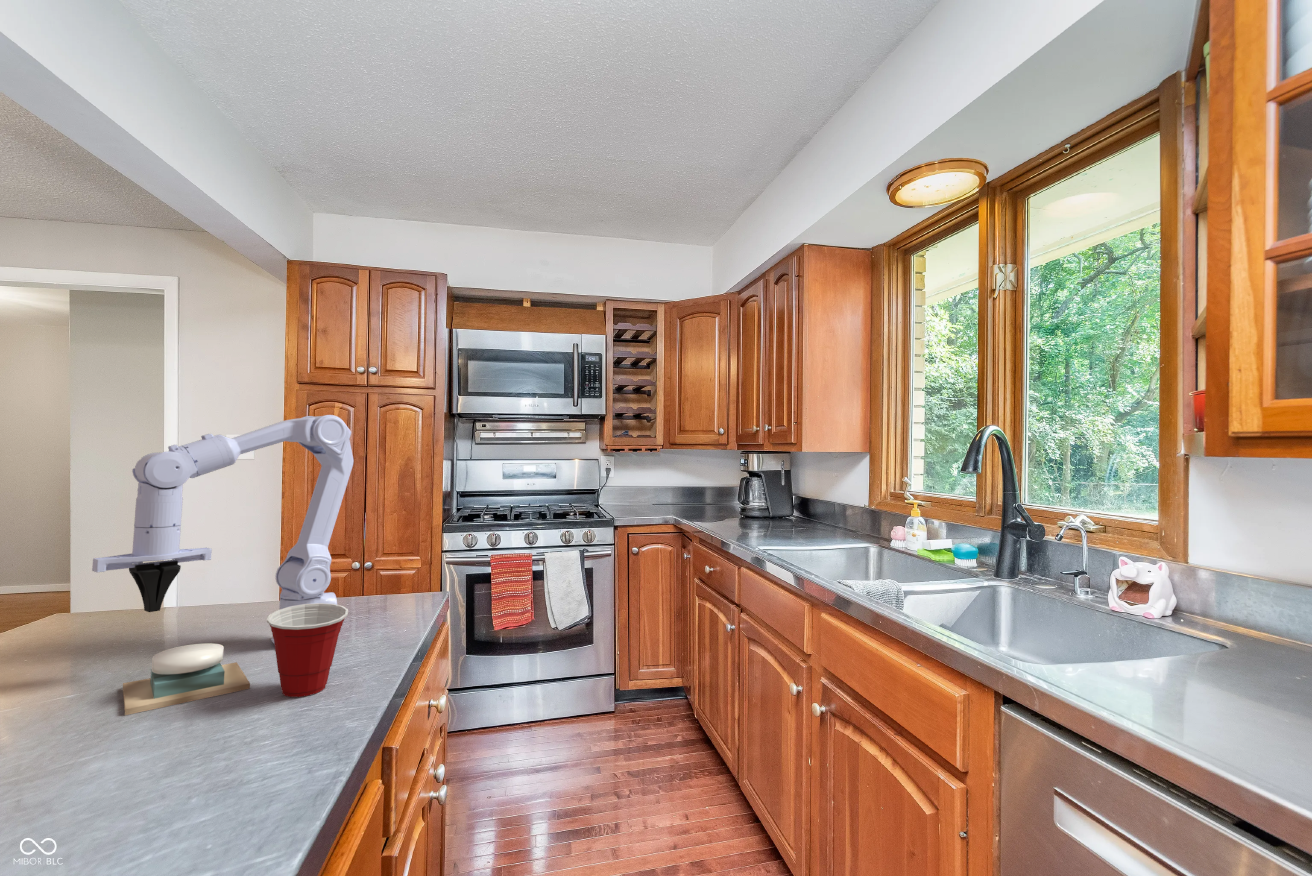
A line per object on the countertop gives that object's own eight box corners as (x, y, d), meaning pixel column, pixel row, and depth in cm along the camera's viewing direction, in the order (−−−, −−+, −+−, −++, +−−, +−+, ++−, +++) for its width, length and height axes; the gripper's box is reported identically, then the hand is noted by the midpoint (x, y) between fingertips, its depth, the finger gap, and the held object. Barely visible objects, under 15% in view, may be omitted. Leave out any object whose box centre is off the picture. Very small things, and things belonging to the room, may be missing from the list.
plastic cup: (264, 712, 79) (269, 625, 79) (259, 686, 87) (264, 608, 88) (350, 694, 86) (355, 614, 86) (338, 672, 94) (342, 599, 95)
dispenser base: (236, 667, 95) (237, 650, 95) (249, 688, 86) (250, 670, 87) (122, 688, 85) (123, 669, 85) (124, 715, 77) (126, 694, 77)
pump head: (217, 666, 92) (219, 640, 92) (225, 681, 86) (227, 653, 86) (148, 679, 86) (150, 650, 86) (152, 696, 80) (154, 666, 80)
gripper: (200, 520, 100) (195, 598, 99) (88, 527, 87) (81, 616, 86) (219, 523, 96) (214, 604, 95) (104, 531, 83) (97, 624, 83)
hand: (152, 610), depth 91 cm, fingers closed
